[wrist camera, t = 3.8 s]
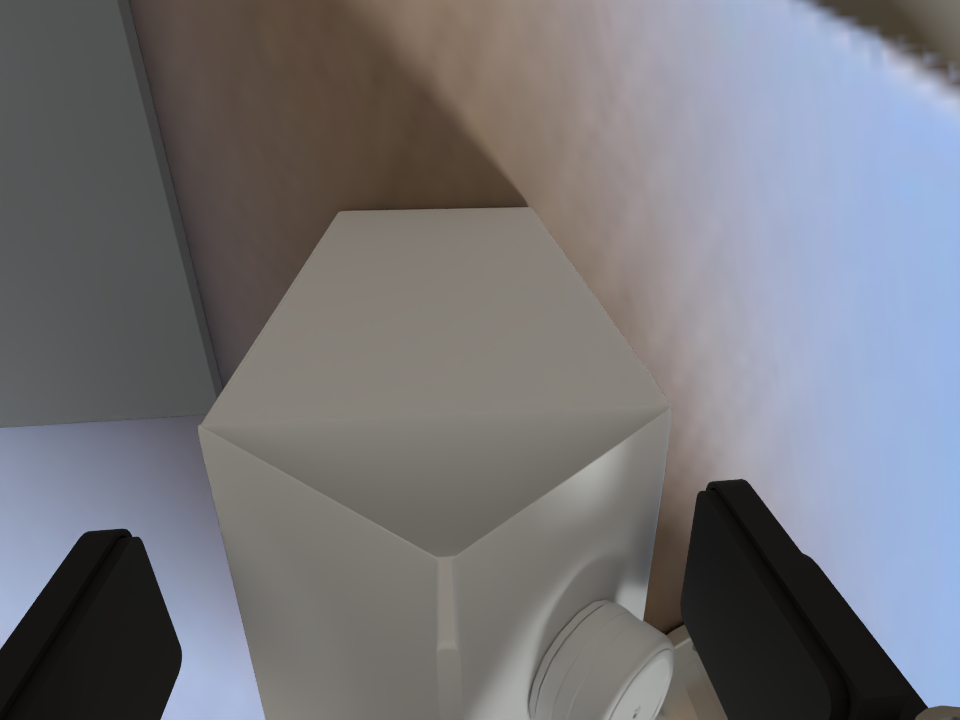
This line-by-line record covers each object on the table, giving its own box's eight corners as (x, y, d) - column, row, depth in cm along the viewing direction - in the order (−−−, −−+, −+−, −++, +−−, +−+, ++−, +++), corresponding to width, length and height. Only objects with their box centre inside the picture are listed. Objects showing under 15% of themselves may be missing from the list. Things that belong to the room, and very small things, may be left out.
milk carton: (355, 383, 25) (198, 1037, 8) (337, 208, 22) (28, 672, 5) (527, 376, 26) (714, 986, 9) (532, 204, 23) (836, 621, 6)
